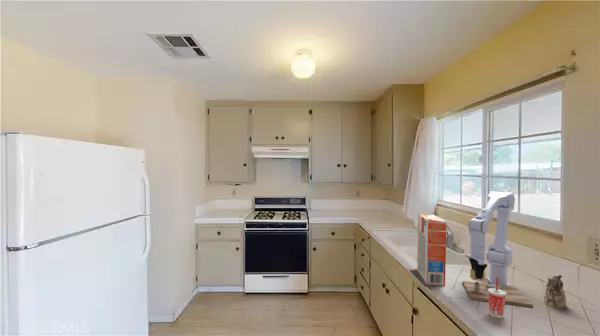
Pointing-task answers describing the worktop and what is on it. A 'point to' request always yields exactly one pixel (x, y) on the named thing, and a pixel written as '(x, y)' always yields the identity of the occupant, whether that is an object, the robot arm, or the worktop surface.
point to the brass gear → (472, 276)
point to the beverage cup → (496, 301)
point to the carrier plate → (509, 296)
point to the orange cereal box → (431, 249)
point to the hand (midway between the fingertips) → (477, 276)
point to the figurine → (555, 292)
